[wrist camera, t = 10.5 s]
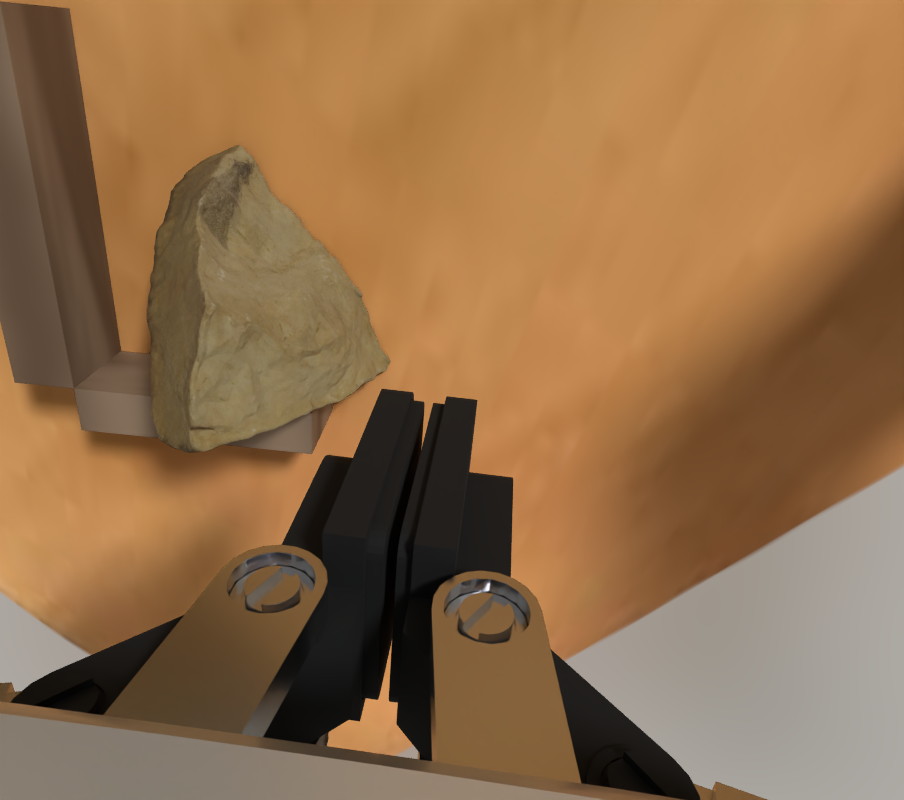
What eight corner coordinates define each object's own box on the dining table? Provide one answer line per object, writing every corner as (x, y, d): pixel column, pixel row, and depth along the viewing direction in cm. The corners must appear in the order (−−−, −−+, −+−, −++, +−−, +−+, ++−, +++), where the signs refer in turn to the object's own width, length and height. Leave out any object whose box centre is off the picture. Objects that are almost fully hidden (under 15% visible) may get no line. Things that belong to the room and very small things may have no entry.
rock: (94, 134, 25) (119, 387, 29) (143, 138, 19) (168, 466, 22) (356, 153, 31) (352, 361, 35) (463, 161, 25) (445, 417, 28)
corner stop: (333, 33, 25) (306, 30, 22) (332, 410, 33) (312, 453, 29) (3, 2, 26) (-77, -6, 22) (75, 383, 33) (24, 423, 29)
